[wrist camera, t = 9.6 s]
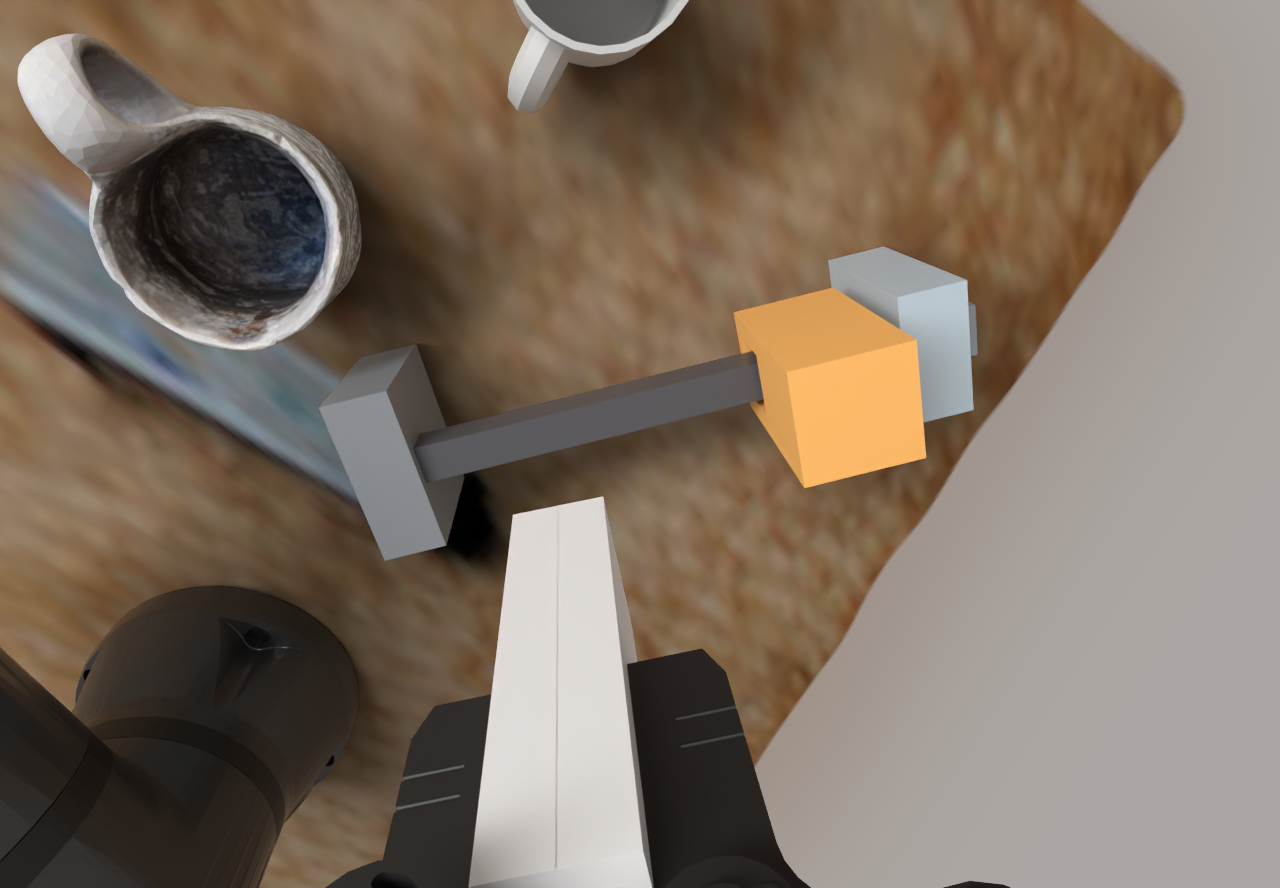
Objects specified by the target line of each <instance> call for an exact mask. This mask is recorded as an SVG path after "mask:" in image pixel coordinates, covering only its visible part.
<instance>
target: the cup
mask: <svg viewBox="0 0 1280 888" xmlns="http://www.w3.org/2000/svg"><path fill="white" fill-rule="evenodd" d="M688 1H689V0H513V2H514V4H515V7H516V9H517V12H518V14H519V16H520V19H521V20H522V22H523V23H524V24H525V26H526V27H527V29H528V30H529V32H528V34H527V36H526V38H525V40H524V42H523V44H522V46H521V49H520V51H519V53H518V55H517V57H516V60H515V62H514V65H513V67H512V70H511V73H510V76H509V86H508V99H509V100H510V101H511V103H512V104H513V105H514V107H515V108H516V110H517V111H520V112H526V113H533V114H534V113H535V112H537V111H538V110H539V109H540V108H542V107H543V106H544V105H545V104H546V103H547V101H548V99H549V98H550V96H551V94H552V92H553V91H554V89H555V87H556V85H557V83H558V81H559V79H560V78H561V76H562V74H563V72H564V70H565V68H566V66H567V64H568V62H569V63H572V64H577V65H582V66H588V67H599V66H608V65H614V64H616V63H618V62H621V61H623V60H625V59H628V58H630V57H632V56H633V55H635V54H636V53H637V52H638V51H639V50H641V49H642V48H643V47H644V46H646V45H647V44H648V43H649V42H650V41H652V40H653V39H654V38H655V37H656V36H658V35H659V34H660V33H661V32H662V31H664V30H665V29H666V28H667V27H668V26H670V25H671V24H672V23H673V21H674V20H675V19H676V17H677V16H678V14H679V13H680V12H681V10H682V9H683V8H684V6H685V5H686V3H687V2H688Z"/></svg>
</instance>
